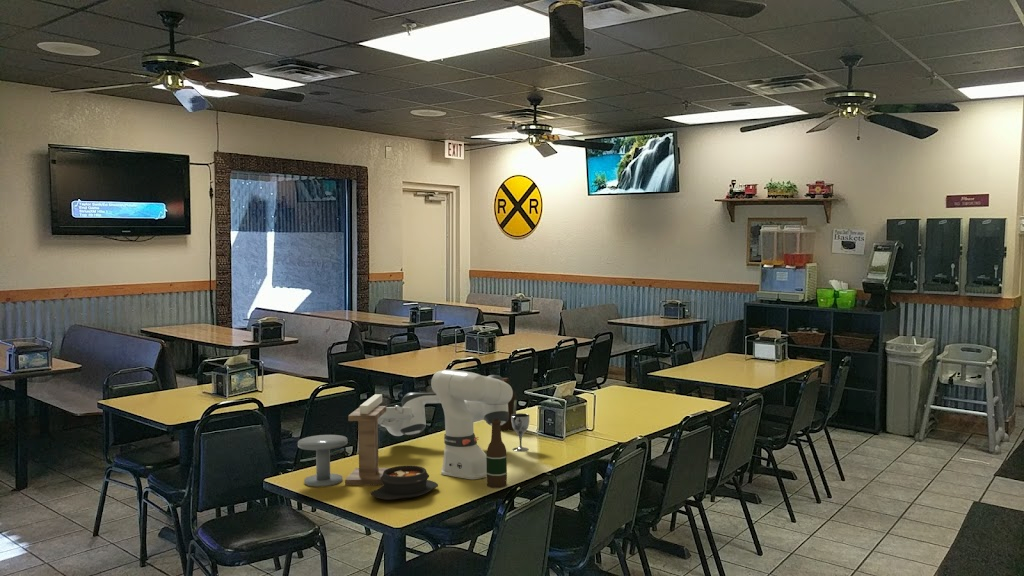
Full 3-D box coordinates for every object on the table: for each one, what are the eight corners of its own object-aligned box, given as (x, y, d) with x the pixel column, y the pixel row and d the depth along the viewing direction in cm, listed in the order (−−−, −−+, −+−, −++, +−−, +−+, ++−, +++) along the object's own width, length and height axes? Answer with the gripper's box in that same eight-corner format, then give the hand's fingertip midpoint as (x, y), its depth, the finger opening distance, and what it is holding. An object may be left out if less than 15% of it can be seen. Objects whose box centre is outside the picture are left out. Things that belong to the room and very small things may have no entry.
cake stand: (357, 480, 278) (356, 439, 277) (315, 491, 264) (315, 448, 264) (330, 471, 290) (329, 432, 289) (289, 482, 277) (288, 441, 276)
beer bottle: (511, 483, 272) (510, 418, 271) (501, 489, 265) (501, 422, 264) (492, 480, 275) (491, 416, 274) (482, 486, 268) (481, 421, 267)
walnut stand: (356, 472, 289) (355, 406, 288) (392, 472, 288) (391, 406, 287) (344, 485, 271) (342, 415, 270) (382, 486, 270) (380, 415, 269)
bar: (374, 401, 297) (374, 394, 297) (382, 401, 297) (382, 394, 297) (359, 413, 273) (359, 405, 273) (367, 413, 273) (367, 405, 273)
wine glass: (508, 450, 319) (508, 416, 319) (515, 446, 327) (515, 412, 326) (525, 452, 316) (525, 417, 316) (532, 448, 324) (532, 414, 323)
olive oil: (495, 431, 356) (494, 380, 355) (495, 426, 367) (494, 376, 366) (517, 431, 356) (516, 379, 356) (516, 426, 367) (516, 376, 366)
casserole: (390, 509, 245) (390, 484, 245) (360, 496, 258) (359, 473, 258) (449, 492, 262) (449, 468, 262) (417, 481, 276) (417, 459, 275)
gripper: (414, 424, 320) (409, 414, 308) (368, 424, 321) (360, 414, 309) (415, 410, 323) (410, 400, 311) (369, 410, 324) (362, 400, 312)
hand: (385, 407), depth 310 cm, fingers open, 8 cm apart
